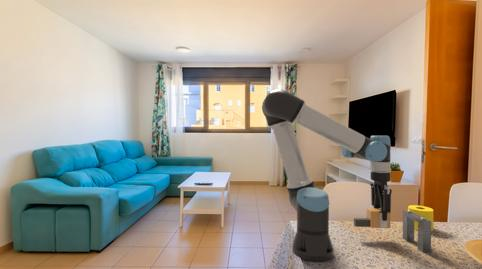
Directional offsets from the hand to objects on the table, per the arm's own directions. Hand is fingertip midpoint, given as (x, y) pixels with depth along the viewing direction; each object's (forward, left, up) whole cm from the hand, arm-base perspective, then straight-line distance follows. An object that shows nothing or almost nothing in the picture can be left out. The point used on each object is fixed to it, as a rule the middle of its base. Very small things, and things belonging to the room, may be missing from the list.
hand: (380, 225), depth 109 cm
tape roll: (+26, +14, -6) cm, 30 cm away
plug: (-4, 0, 0) cm, 4 cm away
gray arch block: (+11, -6, -6) cm, 14 cm away
